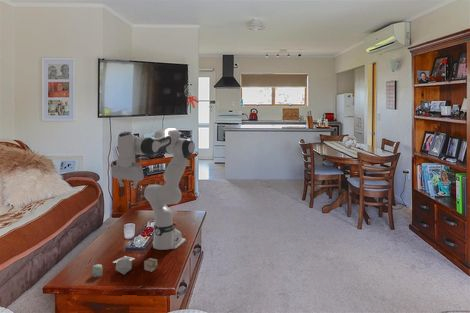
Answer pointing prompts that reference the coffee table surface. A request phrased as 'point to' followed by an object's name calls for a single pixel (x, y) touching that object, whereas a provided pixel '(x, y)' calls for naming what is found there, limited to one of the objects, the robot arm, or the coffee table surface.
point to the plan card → (125, 257)
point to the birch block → (150, 264)
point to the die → (123, 265)
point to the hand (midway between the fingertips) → (128, 187)
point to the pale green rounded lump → (97, 270)
